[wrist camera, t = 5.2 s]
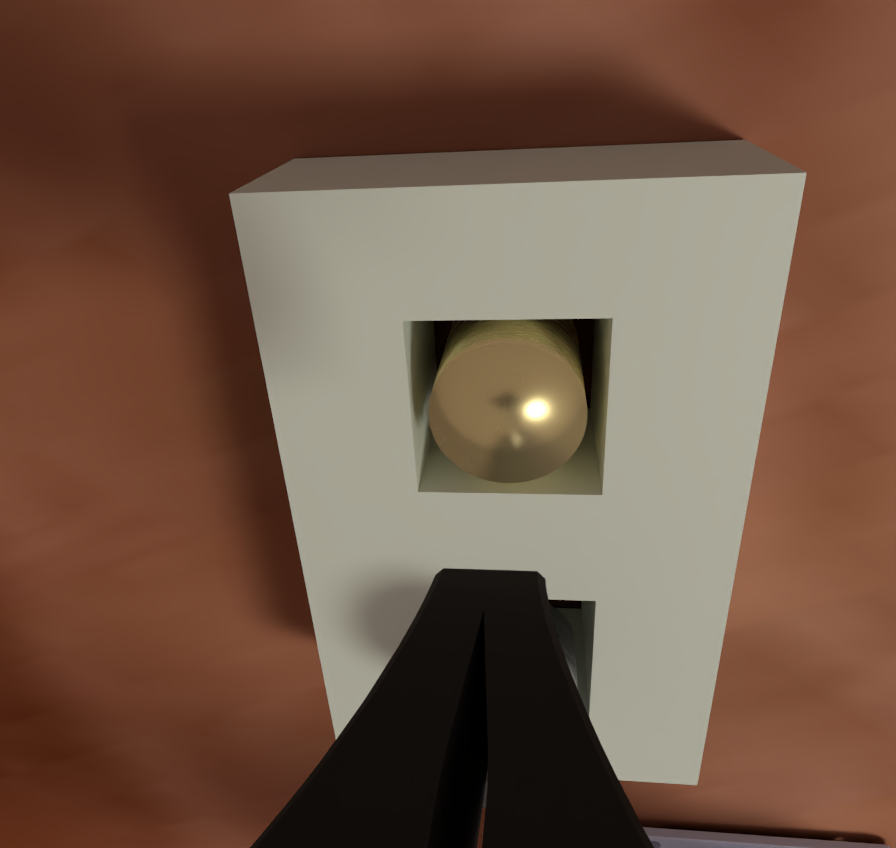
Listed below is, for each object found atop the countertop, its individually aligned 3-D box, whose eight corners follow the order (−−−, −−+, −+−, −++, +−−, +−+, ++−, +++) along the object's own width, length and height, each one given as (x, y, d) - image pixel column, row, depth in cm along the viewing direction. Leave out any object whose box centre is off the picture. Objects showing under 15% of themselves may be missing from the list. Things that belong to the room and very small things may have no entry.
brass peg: (580, 282, 17) (590, 342, 13) (576, 405, 18) (584, 484, 15) (444, 285, 17) (422, 343, 14) (451, 405, 18) (433, 482, 15)
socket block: (745, 139, 15) (806, 172, 12) (673, 670, 23) (697, 785, 19) (294, 158, 16) (228, 193, 13) (368, 656, 24) (340, 762, 21)
